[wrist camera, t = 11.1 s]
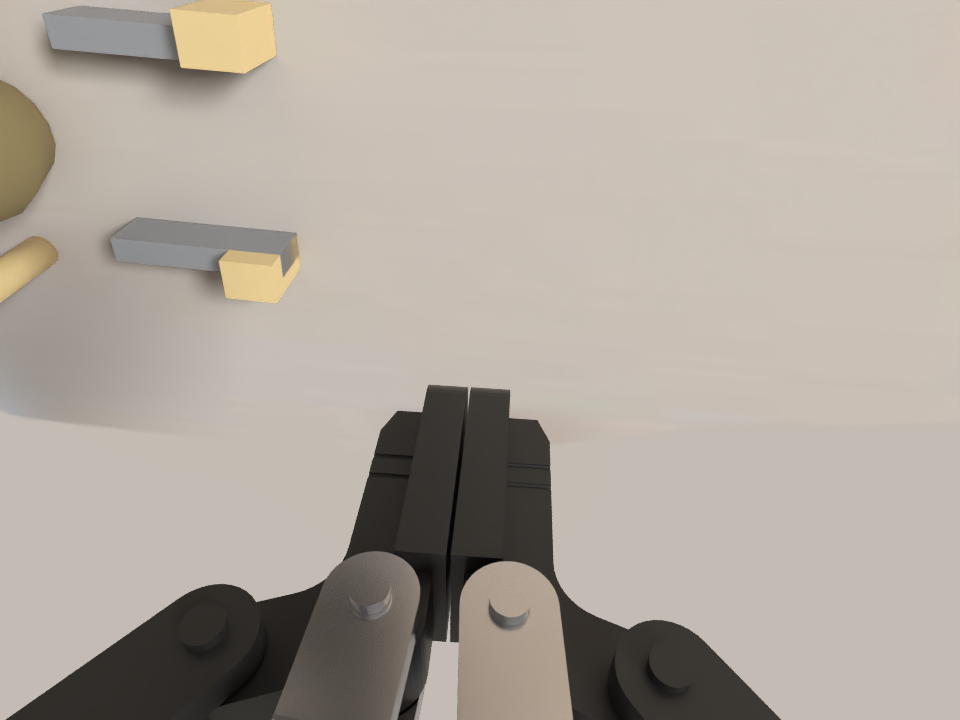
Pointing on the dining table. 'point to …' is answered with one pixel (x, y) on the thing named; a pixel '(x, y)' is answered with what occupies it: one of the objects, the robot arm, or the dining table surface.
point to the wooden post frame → (197, 45)
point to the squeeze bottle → (21, 150)
